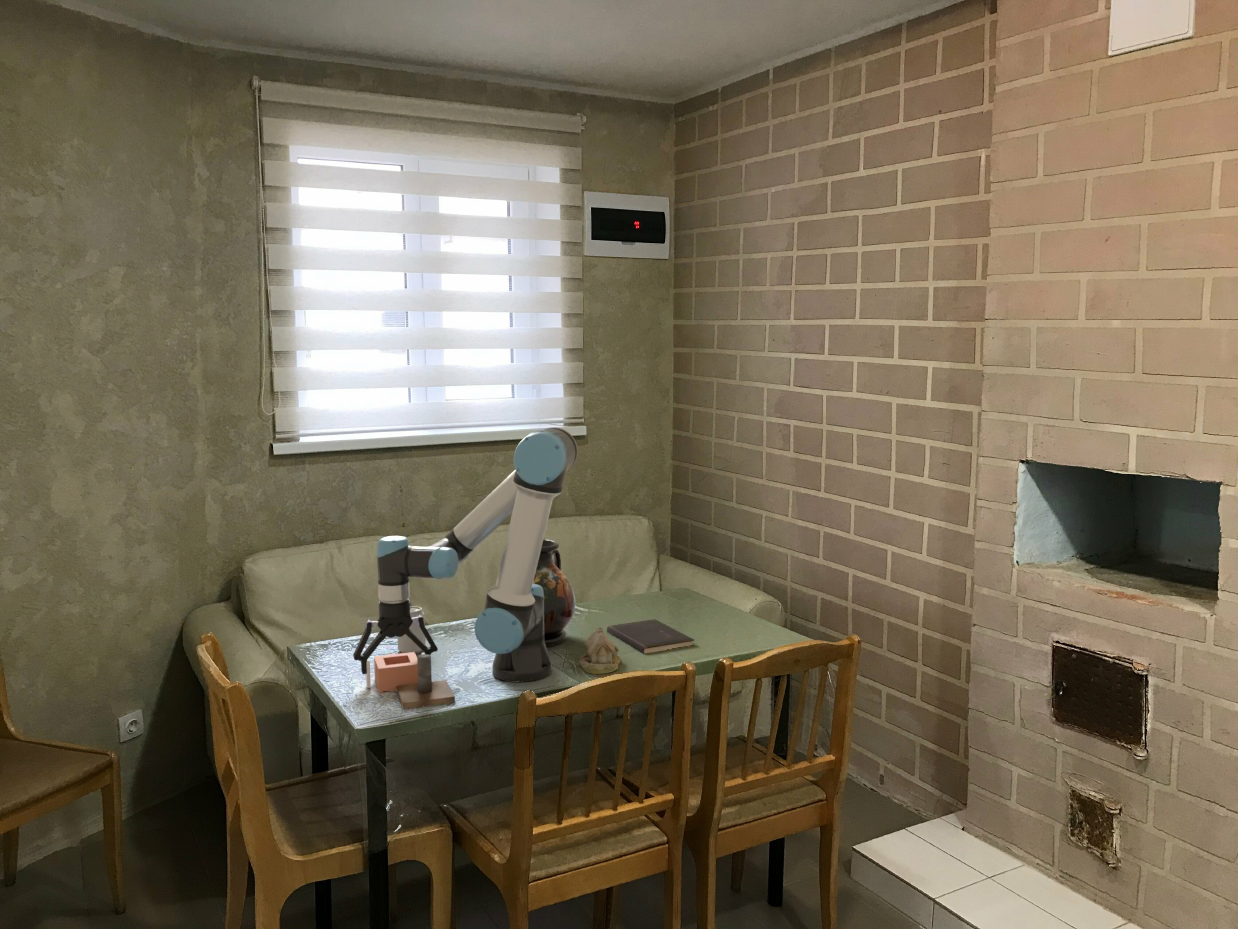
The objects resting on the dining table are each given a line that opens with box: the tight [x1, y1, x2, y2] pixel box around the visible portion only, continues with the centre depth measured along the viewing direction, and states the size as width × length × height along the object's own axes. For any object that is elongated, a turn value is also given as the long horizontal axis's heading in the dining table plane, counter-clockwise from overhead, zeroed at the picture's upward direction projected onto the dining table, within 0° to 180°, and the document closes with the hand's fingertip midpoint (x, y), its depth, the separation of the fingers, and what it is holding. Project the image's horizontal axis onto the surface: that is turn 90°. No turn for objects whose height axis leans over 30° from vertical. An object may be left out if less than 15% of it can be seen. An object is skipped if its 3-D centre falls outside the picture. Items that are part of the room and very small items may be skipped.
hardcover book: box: [606, 618, 695, 655], centre depth 276 cm, size 16×23×2 cm
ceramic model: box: [578, 627, 622, 675], centre depth 253 cm, size 14×11×10 cm
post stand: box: [396, 654, 456, 710], centre depth 231 cm, size 12×12×10 cm
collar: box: [373, 652, 418, 693], centre depth 240 cm, size 10×10×6 cm
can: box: [397, 605, 427, 654], centre depth 266 cm, size 8×8×12 cm
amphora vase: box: [533, 539, 576, 648], centre depth 274 cm, size 22×22×28 cm
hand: (396, 683), depth 241 cm, fingers open, 13 cm apart
